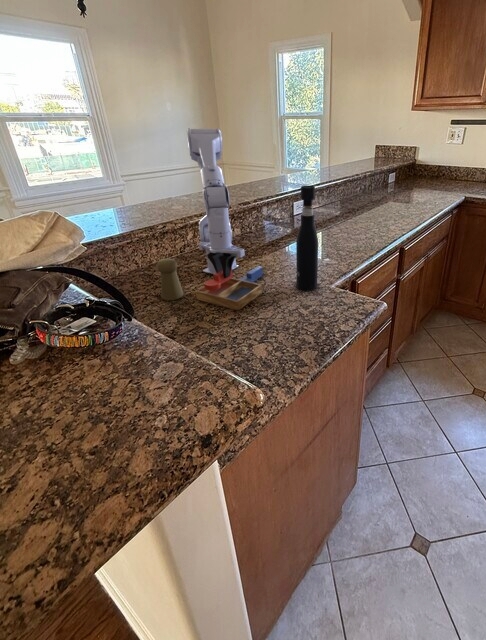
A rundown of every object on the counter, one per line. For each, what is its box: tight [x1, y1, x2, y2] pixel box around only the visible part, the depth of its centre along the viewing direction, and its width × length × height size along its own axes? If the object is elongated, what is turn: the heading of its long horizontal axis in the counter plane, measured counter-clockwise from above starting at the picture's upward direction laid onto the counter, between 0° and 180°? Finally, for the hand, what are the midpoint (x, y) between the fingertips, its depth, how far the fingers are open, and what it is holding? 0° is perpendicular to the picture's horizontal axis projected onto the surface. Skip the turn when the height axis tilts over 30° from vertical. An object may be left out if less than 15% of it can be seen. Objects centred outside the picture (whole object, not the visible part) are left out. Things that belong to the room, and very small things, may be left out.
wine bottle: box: [295, 185, 319, 292], centre depth 102 cm, size 6×6×30 cm
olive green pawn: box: [156, 258, 184, 301], centre depth 100 cm, size 6×6×11 cm
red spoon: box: [203, 268, 234, 291], centre depth 101 cm, size 10×4×3 cm, turn 154°
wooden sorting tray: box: [195, 277, 264, 311], centre depth 102 cm, size 12×14×3 cm
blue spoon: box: [238, 265, 264, 283], centre depth 111 cm, size 10×4×3 cm, turn 154°
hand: (223, 276), depth 103 cm, fingers closed on red spoon, 2 cm apart
